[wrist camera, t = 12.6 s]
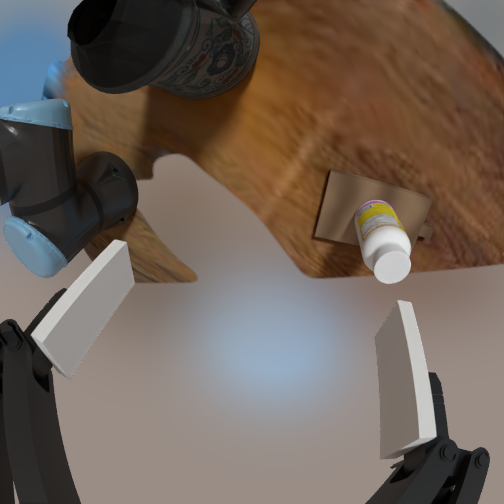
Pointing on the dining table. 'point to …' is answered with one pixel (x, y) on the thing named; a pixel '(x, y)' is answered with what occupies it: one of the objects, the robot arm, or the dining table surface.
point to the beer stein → (164, 45)
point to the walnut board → (359, 192)
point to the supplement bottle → (383, 241)
